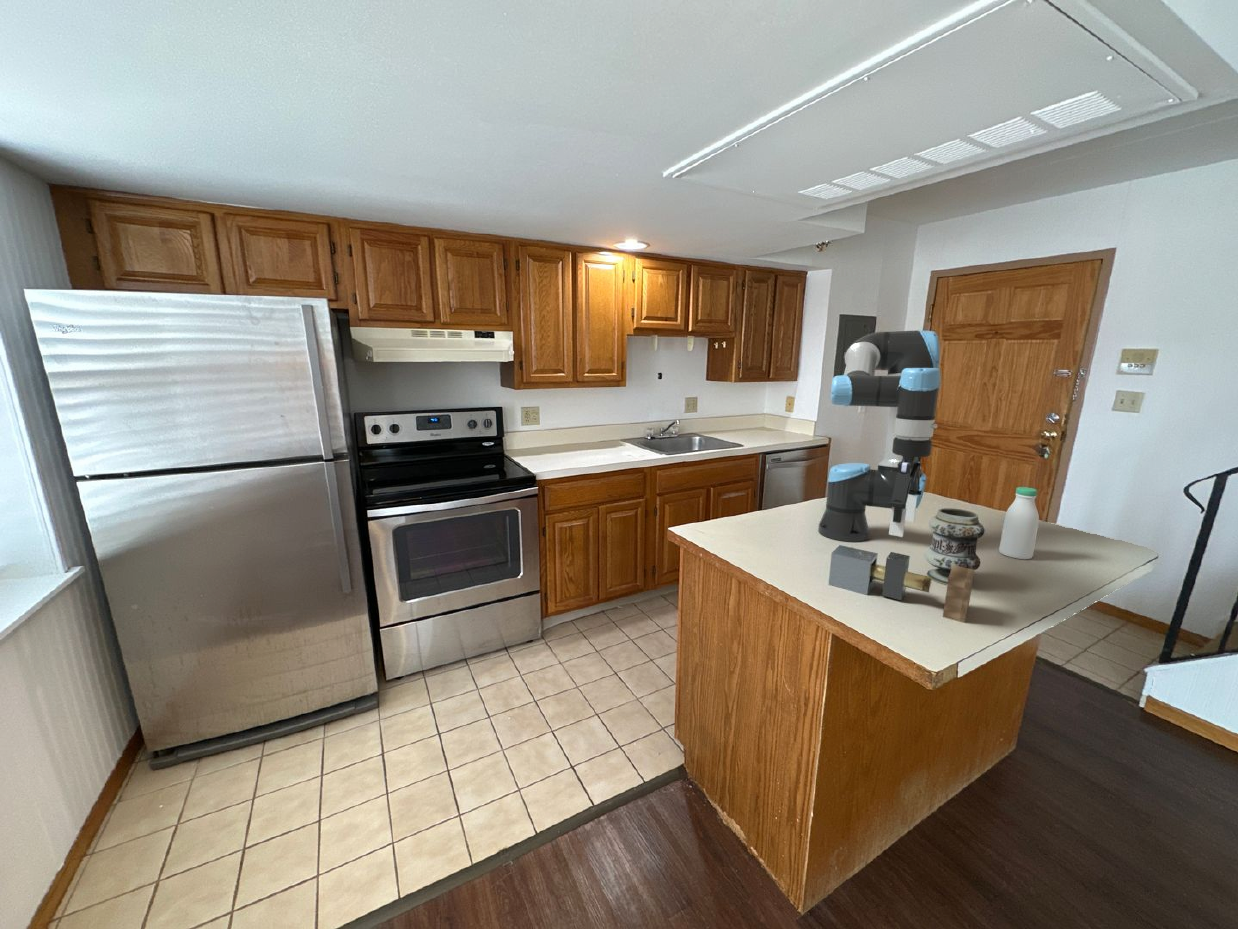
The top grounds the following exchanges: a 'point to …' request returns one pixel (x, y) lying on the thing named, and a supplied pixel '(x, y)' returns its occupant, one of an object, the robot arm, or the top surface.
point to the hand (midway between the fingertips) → (901, 527)
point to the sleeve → (852, 569)
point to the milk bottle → (1020, 525)
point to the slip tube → (898, 576)
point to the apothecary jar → (953, 542)
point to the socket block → (958, 593)
